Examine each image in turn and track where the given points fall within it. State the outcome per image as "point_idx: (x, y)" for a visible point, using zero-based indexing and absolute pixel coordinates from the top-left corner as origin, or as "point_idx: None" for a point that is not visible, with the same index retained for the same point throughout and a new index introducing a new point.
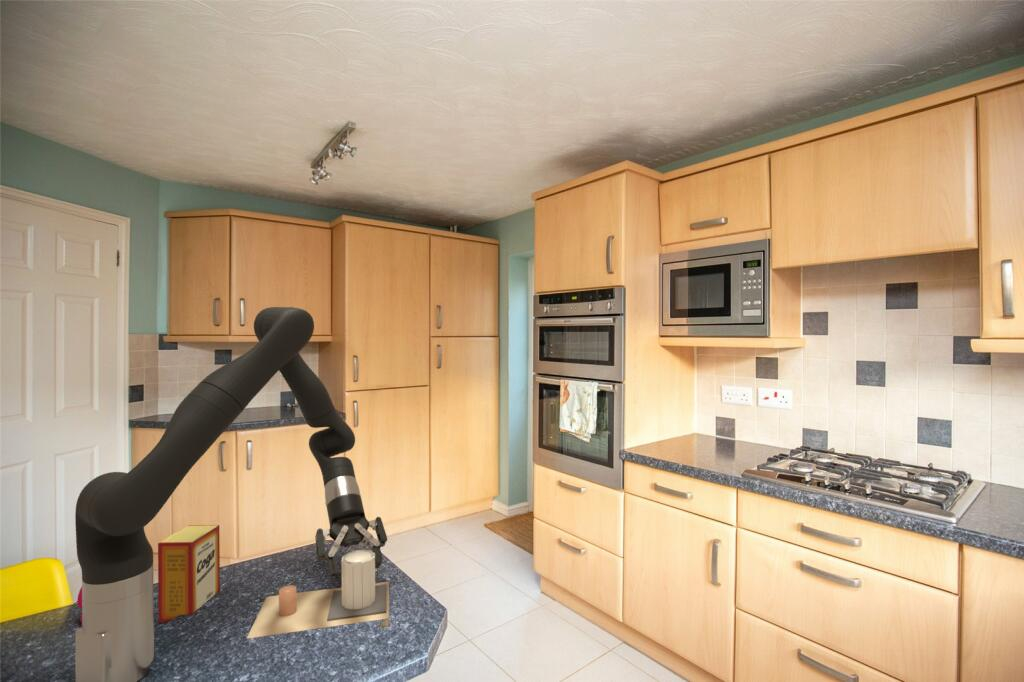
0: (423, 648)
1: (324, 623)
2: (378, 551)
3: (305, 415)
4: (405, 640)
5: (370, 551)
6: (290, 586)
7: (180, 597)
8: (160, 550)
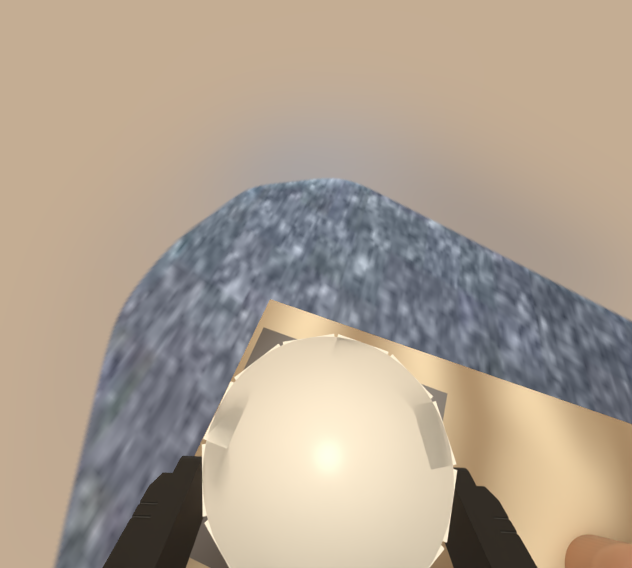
0: (247, 195)
1: (453, 386)
2: (133, 548)
3: None
4: (265, 235)
5: (213, 503)
6: None
7: None
8: None
